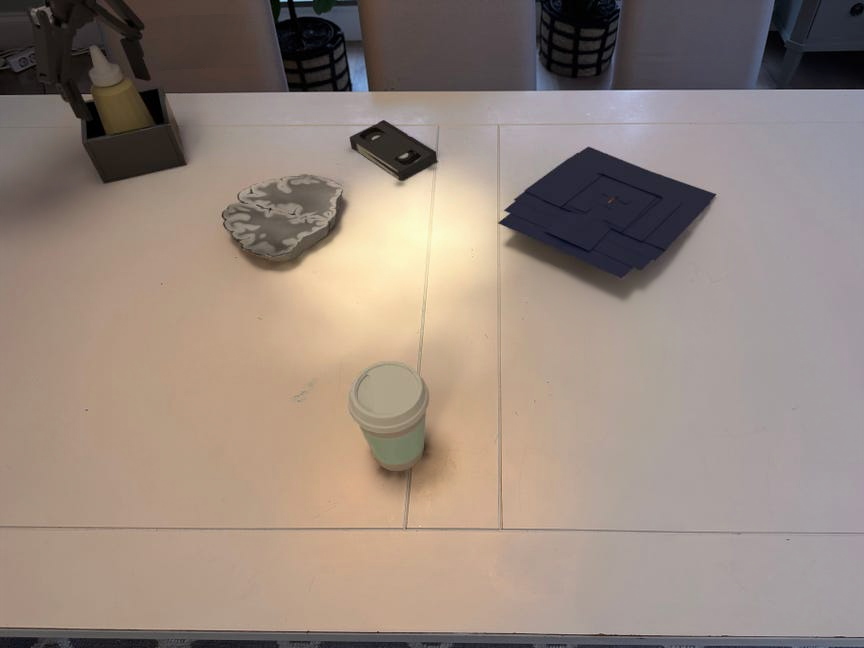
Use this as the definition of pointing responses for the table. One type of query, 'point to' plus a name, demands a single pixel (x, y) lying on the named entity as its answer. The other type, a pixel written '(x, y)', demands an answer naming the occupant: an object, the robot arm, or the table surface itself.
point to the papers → (606, 211)
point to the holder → (135, 142)
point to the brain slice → (283, 215)
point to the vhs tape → (393, 150)
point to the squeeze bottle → (116, 97)
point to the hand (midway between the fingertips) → (115, 98)
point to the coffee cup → (391, 412)
